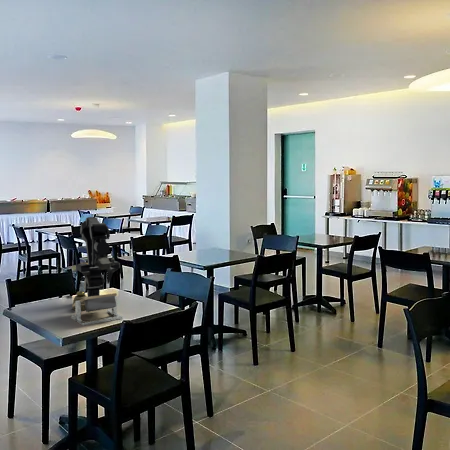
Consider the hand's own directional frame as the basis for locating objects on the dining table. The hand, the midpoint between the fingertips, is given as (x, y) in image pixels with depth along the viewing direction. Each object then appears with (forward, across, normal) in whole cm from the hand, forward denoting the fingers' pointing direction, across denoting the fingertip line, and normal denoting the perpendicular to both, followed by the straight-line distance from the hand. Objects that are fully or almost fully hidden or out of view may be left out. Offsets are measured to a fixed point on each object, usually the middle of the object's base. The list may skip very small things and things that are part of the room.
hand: (98, 284), depth 232 cm
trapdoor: (+8, -7, -13) cm, 17 cm away
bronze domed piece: (+3, -7, +3) cm, 8 cm away
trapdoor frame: (+11, -7, -14) cm, 19 cm away
